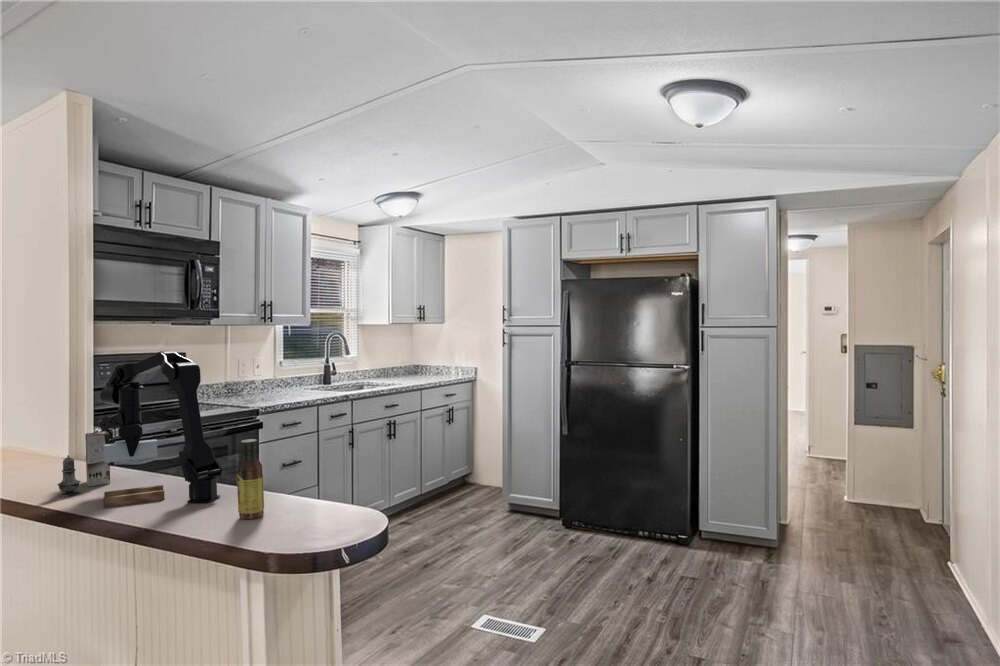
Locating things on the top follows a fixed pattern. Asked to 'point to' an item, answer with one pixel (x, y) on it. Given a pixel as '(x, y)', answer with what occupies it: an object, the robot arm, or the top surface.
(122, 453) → the pale grey-blue bar
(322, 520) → the top surface
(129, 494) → the cradle
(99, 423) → the robot arm
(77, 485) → the salt shaker
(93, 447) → the coffee box
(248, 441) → the sauce bottle
